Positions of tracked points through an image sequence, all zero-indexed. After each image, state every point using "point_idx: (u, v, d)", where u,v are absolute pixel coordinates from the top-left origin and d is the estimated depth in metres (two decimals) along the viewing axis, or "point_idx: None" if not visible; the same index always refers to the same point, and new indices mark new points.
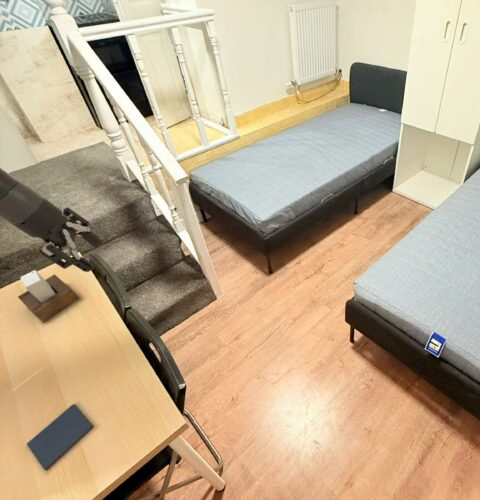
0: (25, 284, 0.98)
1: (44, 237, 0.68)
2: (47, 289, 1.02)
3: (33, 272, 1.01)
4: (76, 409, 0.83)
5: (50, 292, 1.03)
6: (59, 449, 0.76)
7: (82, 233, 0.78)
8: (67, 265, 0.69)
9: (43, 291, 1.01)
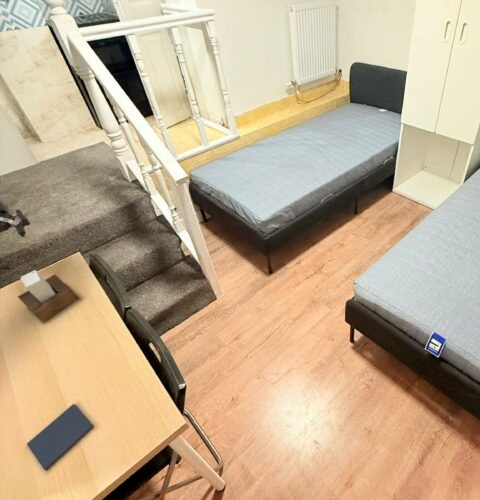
0: (25, 284, 0.98)
1: None
2: (47, 289, 1.02)
3: (33, 272, 1.01)
4: (76, 409, 0.83)
5: (50, 292, 1.03)
6: (59, 449, 0.76)
7: None
8: (27, 220, 1.03)
9: (44, 291, 1.01)
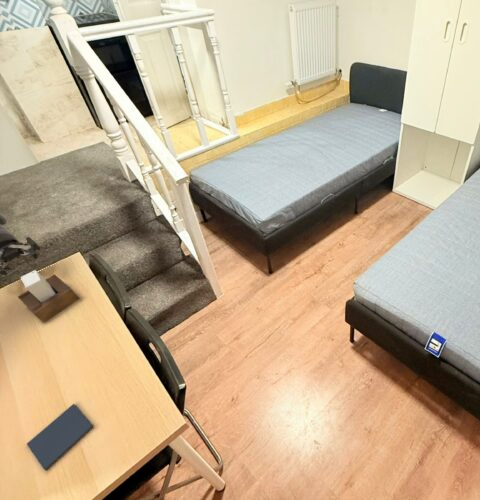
0: (25, 284, 0.98)
1: None
2: (47, 289, 1.02)
3: (33, 272, 1.01)
4: (76, 409, 0.83)
5: (50, 292, 1.03)
6: (59, 449, 0.76)
7: None
8: (37, 245, 1.11)
9: (44, 291, 1.01)
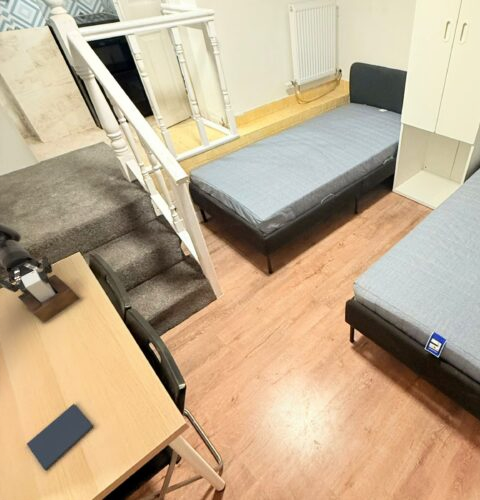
0: (25, 284, 0.98)
1: None
2: (47, 289, 1.02)
3: (33, 272, 1.01)
4: (76, 409, 0.83)
5: (50, 292, 1.03)
6: (59, 449, 0.76)
7: (22, 283, 1.00)
8: (49, 268, 1.05)
9: (44, 291, 1.01)
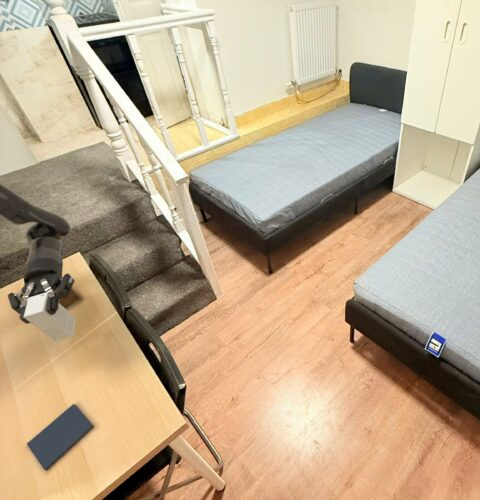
0: (26, 312, 0.76)
1: (59, 275, 0.85)
2: (52, 321, 0.79)
3: (43, 295, 0.79)
4: (76, 409, 0.83)
5: (56, 324, 0.80)
6: (59, 449, 0.76)
7: None
8: (64, 292, 0.82)
9: (47, 322, 0.79)
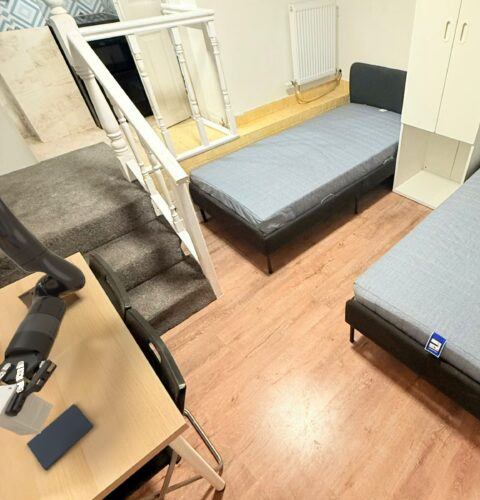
0: None
1: (42, 356, 0.72)
2: (12, 422, 0.65)
3: (10, 388, 0.66)
4: (76, 409, 0.83)
5: (18, 425, 0.66)
6: (59, 449, 0.76)
7: None
8: (37, 386, 0.67)
9: (7, 423, 0.65)
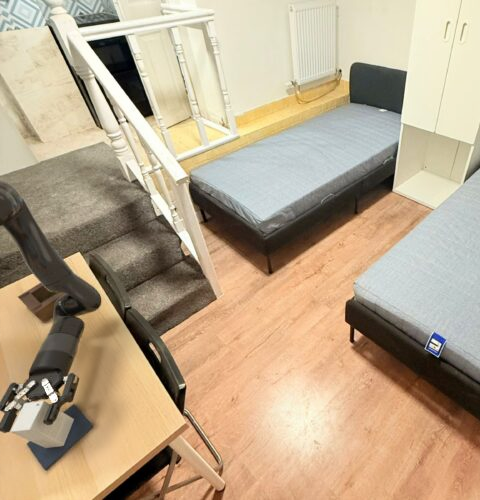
0: (15, 425, 0.69)
1: (64, 374, 0.78)
2: (40, 436, 0.71)
3: (38, 405, 0.72)
4: (76, 409, 0.83)
5: (45, 438, 0.72)
6: (59, 449, 0.76)
7: (13, 409, 0.72)
8: (69, 397, 0.74)
9: (35, 436, 0.71)
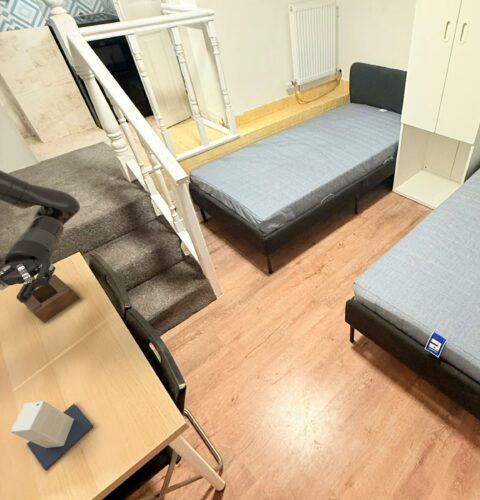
0: (14, 425, 0.69)
1: (40, 263, 0.78)
2: (40, 436, 0.71)
3: (38, 405, 0.72)
4: (76, 409, 0.83)
5: (44, 438, 0.72)
6: (59, 449, 0.76)
7: None
8: (44, 280, 0.74)
9: (35, 436, 0.71)
